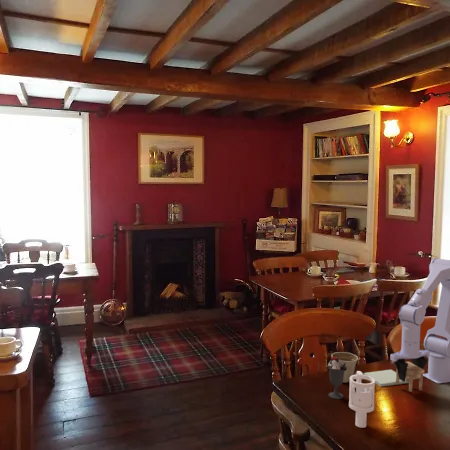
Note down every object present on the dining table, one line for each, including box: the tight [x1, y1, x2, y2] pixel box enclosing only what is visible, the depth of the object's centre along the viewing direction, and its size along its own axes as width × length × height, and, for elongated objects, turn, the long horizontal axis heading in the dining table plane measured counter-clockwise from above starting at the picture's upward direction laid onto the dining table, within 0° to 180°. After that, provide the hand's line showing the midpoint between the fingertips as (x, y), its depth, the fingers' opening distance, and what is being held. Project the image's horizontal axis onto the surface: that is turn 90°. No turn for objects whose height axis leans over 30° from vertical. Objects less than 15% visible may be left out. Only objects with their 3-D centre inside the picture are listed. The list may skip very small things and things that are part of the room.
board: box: [363, 369, 409, 388], centre depth 167 cm, size 12×10×1 cm
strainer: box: [348, 370, 376, 429], centre depth 133 cm, size 7×7×15 cm
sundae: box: [326, 351, 347, 400], centre depth 152 cm, size 7×7×15 cm
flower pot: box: [330, 351, 359, 384], centre depth 166 cm, size 9×9×9 cm
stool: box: [394, 361, 425, 393], centre depth 156 cm, size 5×8×7 cm
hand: (409, 379), depth 157 cm, fingers closed on stool, 5 cm apart
